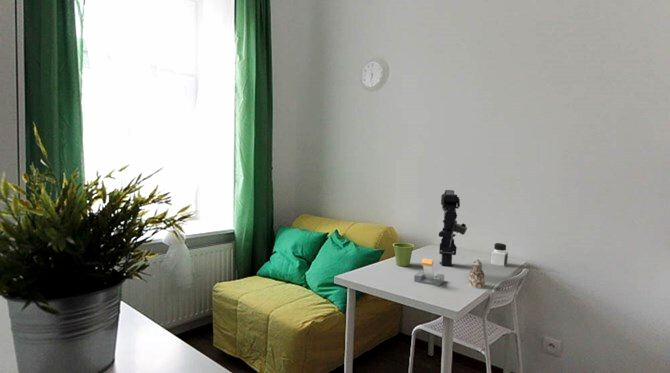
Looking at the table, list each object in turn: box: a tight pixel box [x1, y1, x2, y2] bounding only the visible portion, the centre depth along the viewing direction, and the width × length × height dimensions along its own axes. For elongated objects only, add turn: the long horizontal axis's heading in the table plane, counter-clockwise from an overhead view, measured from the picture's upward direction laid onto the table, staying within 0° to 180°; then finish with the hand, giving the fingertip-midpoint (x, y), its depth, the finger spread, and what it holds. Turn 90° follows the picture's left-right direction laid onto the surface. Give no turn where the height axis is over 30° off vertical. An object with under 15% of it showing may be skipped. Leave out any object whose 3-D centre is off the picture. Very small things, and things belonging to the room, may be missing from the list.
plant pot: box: [392, 242, 415, 267], centre depth 207 cm, size 12×12×11 cm
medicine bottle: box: [490, 242, 509, 268], centre depth 212 cm, size 7×7×12 cm
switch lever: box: [421, 258, 435, 279], centre depth 178 cm, size 3×5×10 cm
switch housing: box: [413, 270, 445, 287], centre depth 180 cm, size 9×12×3 cm
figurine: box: [468, 259, 486, 289], centre depth 175 cm, size 7×7×12 cm
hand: (448, 248), depth 194 cm, fingers closed
